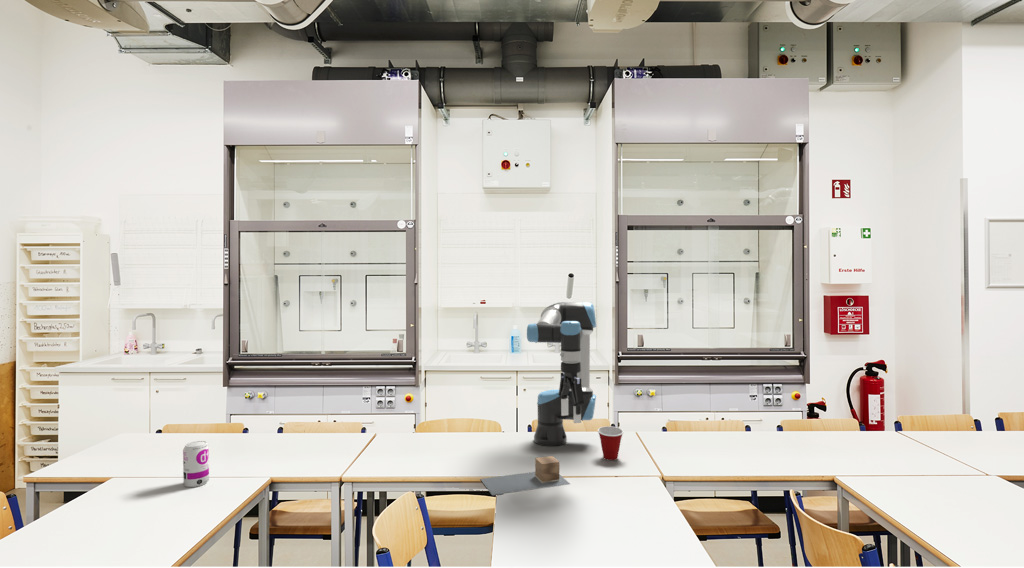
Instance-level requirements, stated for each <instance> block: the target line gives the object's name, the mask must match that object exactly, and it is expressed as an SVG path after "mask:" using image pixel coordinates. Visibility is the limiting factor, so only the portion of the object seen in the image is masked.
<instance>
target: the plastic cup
mask: <svg viewBox="0 0 1024 568" xmlns="http://www.w3.org/2000/svg"><path fill="white" fill-rule="evenodd" d="M597 433H598V434H599V435H598V436H599V439H600V445H601V451H602V456H603V459H604V458H605V459H604V460H607V459H608V461H615V459H616V460H618V457H619V451H620V446H621V442H622V441H621V440H622V437H623V434H624V430H623V429H622V428H620V427H616V426H611V425H607V426H600V427H599V428H597Z"/></svg>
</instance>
